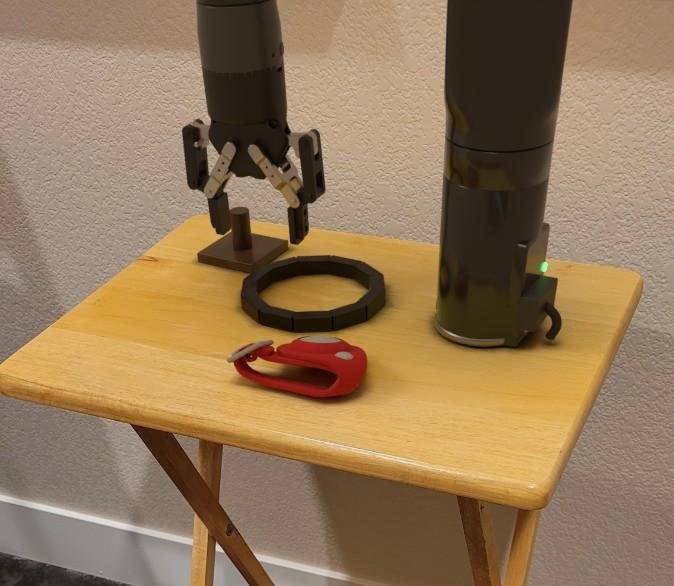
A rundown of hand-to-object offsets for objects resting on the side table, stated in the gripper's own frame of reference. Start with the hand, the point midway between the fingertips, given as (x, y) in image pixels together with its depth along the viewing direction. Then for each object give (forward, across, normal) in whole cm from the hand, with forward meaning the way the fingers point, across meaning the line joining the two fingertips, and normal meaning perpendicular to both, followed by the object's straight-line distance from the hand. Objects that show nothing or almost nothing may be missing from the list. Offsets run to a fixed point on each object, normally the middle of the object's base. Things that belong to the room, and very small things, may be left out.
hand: (260, 237), depth 91 cm
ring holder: (+5, -6, +6) cm, 10 cm away
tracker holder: (+6, +12, -16) cm, 20 cm away
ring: (+5, +6, -1) cm, 8 cm away
